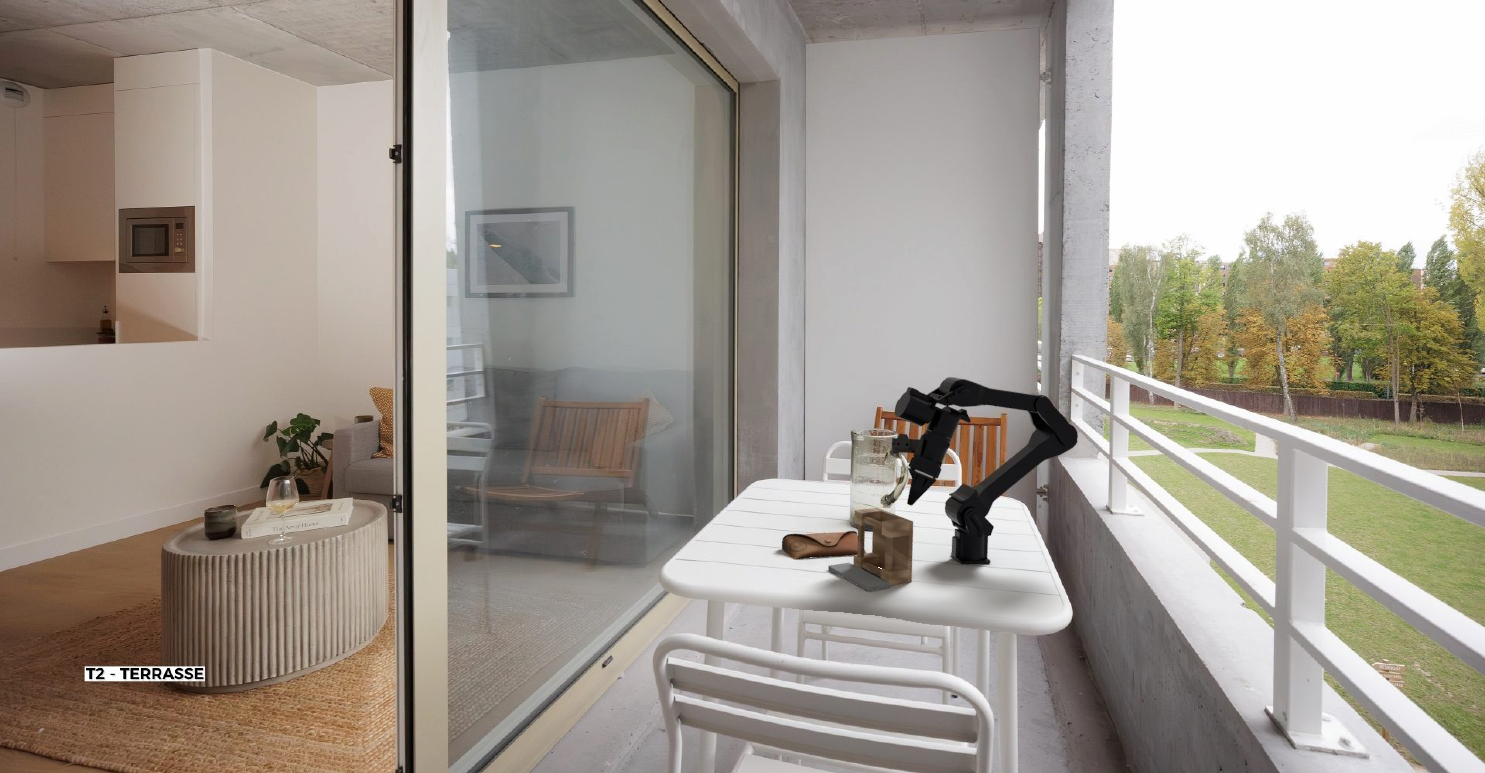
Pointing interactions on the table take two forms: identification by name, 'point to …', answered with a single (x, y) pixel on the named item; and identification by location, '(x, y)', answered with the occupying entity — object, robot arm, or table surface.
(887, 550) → the wood grain block
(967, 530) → the robot arm
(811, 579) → the table surface
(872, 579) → the strip
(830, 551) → the sunglasses case
